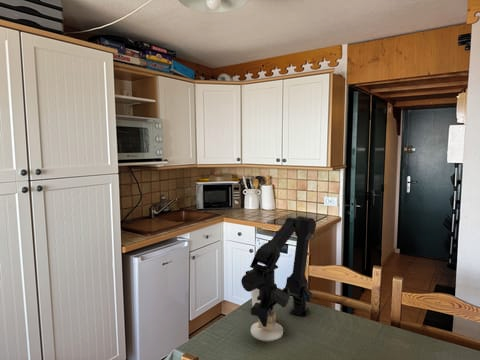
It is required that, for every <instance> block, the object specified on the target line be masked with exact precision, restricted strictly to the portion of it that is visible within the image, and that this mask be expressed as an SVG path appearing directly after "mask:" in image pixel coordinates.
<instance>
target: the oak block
mask: <svg viewBox="0 0 480 360" xmlns="http://www.w3.org/2000/svg"><path fill="white" fill-rule="evenodd" d="M257 320H258V321H257V322H258V328H262V329H267V330H272V329H273V327H274V325H275V322H276V310H274V309H273V310H272V312H271V313H270V315H269V316H268V319H267V325H266V327H263V325H262V323H261V321H260V319H259V318H258V317H257Z"/></svg>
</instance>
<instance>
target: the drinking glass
mask: <svg viewBox="0 0 480 360" xmlns="http://www.w3.org/2000/svg"><path fill="white" fill-rule="evenodd" d="M250 293H251V305H252V306H253V305H254V304H255V303H260V302H261V301H260V300H257V297H258V296H259V289H255V290H253V291H250ZM252 306H251V307H252Z"/></svg>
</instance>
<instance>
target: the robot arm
mask: <svg viewBox="0 0 480 360" xmlns="http://www.w3.org/2000/svg"><path fill="white" fill-rule="evenodd" d="M316 227H317V222H316V221H315V219H314V218H312V217H309V216H303V215H299V216H297V217H291V216H289V217H286V219H285V222H283V224H282V225H281V226H280V228H279V229H278V231H277V232H275V234H274V235H273V237H272V238H271V239H270V240H269V241H268V242H265V243H263V244H262V245H261V246H260V247H258V249H257V250H256V251H255V254H254V257H253V258H252V261H251V263H250V266H249V268H251V269H250V270H246V271H245V274H244V275H243V276H242V277H241V280H240V282H241V285H242V288H243V289H244V291H246V292H248V293H249V292H250V293H251V291H253V290H255V289H259V296H258V297H257V300H260V301H261V302H260V303H255V304H254V305H253V306H251V308H249V309H250V315H251V316H255V317H257V319H258V318H259V319H260V321H261V323H262V325H263V327H266V325H267V319H268V316H269V315H270V313H271V312H272V310H274V306H276V305H279V306H281V307H282V308H286V307H287V305H288V304H289V301H290V299H291V298H292V308H291V309H290V312H289V314H291V315H297V316H303V317H307V314H308V313H309V307H308V306H307V305H308V303H307V302H310V301H311V300H312V296H313V292H312V291H310V289H309V286H308V284H309V282H308V279H307V277H306V270H307V269H306V268H307V261H308V253H309V244H310V239H311V238H312V237H313V236H314V234H315V231H316ZM293 234H295V236H296V243H295V251H294V258H293V259H294V260H293V266H292V273H291V274H290V275H289V276H287V278H286V282H285V285H284V287H283V288H280V287H278V285H277V283H275V270H277V269H278V268H279V265H277V262H278V261H279V259H280V257H281V251H282V249H283V247H284V246H285V245H286V244H287V242H288V241H289V240H290V239H291V237H292V235H293ZM261 264H262V265H261Z"/></svg>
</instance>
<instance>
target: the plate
mask: <svg viewBox="0 0 480 360" xmlns="http://www.w3.org/2000/svg"><path fill="white" fill-rule="evenodd" d="M250 334H251V336H252V337H253V338H254V339H256V340H259V341H260V342H261V341H262V342H274V341H277V340H279V339H281V338H282V337H283V335H284V327H283V326H282V325H281V324H280V323H277V322H276V321H275V325H274V327H273V329H272V330H267V329H262V328H258V321H257V322H255V323H253V324H251V327H250Z"/></svg>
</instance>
